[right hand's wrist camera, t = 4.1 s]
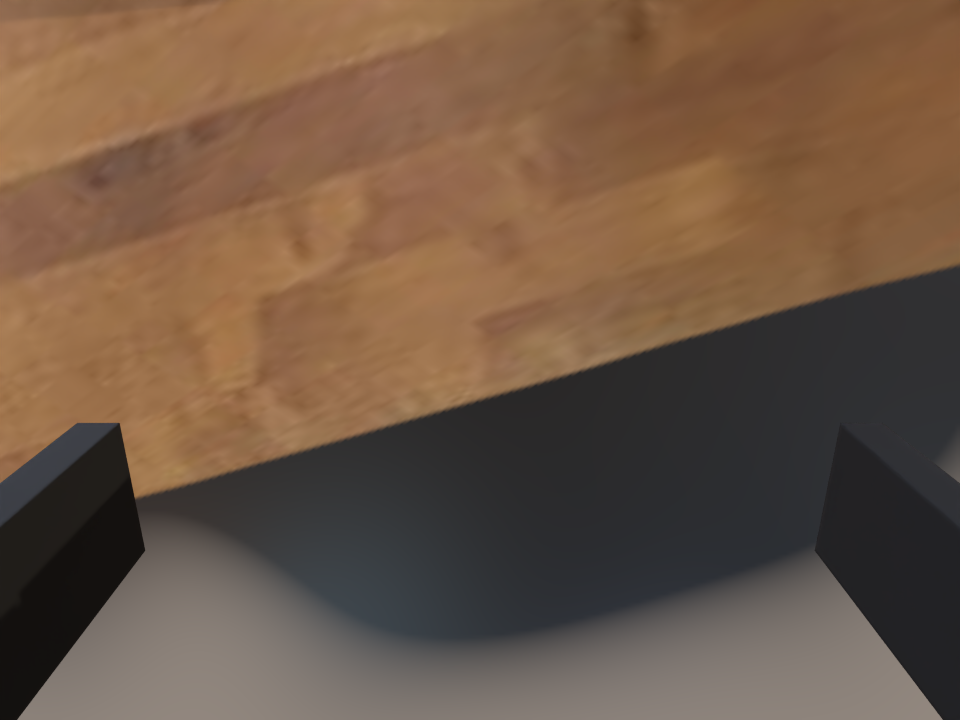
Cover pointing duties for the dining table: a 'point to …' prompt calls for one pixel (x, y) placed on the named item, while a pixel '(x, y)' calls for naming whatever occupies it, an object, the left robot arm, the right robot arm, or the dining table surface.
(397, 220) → the dining table surface
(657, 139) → the dining table surface
